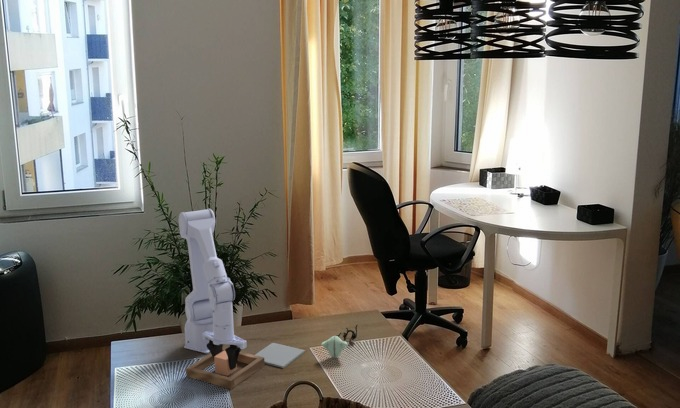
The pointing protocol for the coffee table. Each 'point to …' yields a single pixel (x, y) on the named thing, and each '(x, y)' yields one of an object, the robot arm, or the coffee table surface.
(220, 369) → the terracotta block
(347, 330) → the creature
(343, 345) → the pale green pointed piece
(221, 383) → the well frame
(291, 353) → the tile
